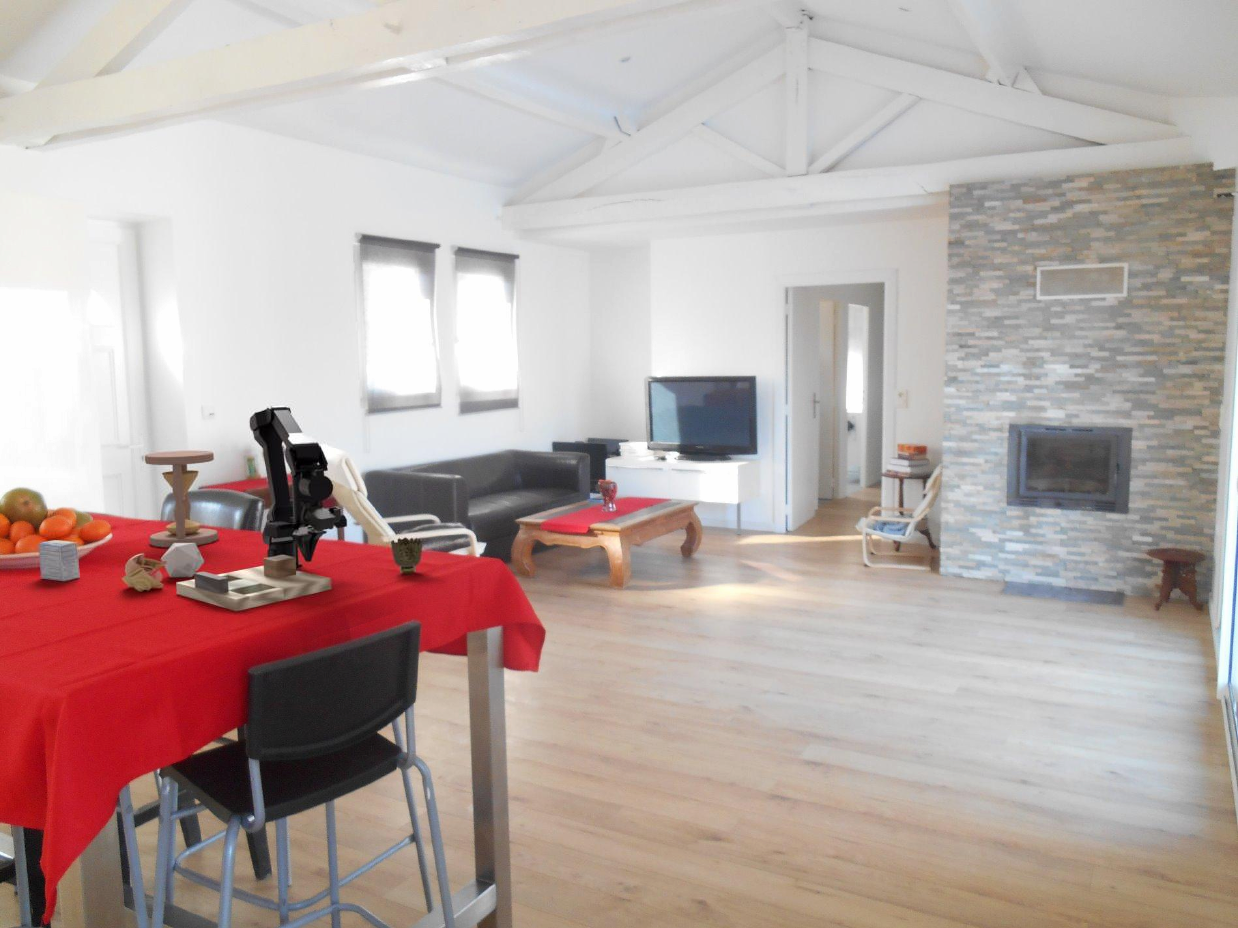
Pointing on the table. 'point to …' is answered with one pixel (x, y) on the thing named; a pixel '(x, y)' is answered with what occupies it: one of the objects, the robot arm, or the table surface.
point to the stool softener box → (59, 560)
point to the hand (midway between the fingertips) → (308, 561)
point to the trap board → (250, 588)
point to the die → (182, 560)
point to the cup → (407, 554)
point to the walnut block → (279, 566)
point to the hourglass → (181, 498)
